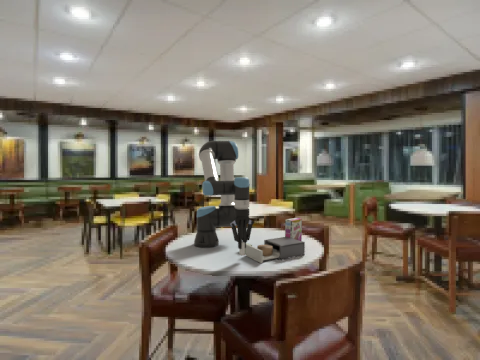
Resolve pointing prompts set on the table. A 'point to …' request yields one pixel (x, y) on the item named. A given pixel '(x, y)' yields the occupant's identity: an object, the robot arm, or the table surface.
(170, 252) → the table surface
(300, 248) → the housing
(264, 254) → the brown flattened rounded piece
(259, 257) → the cream pull-out drawer
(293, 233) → the candy bar box
